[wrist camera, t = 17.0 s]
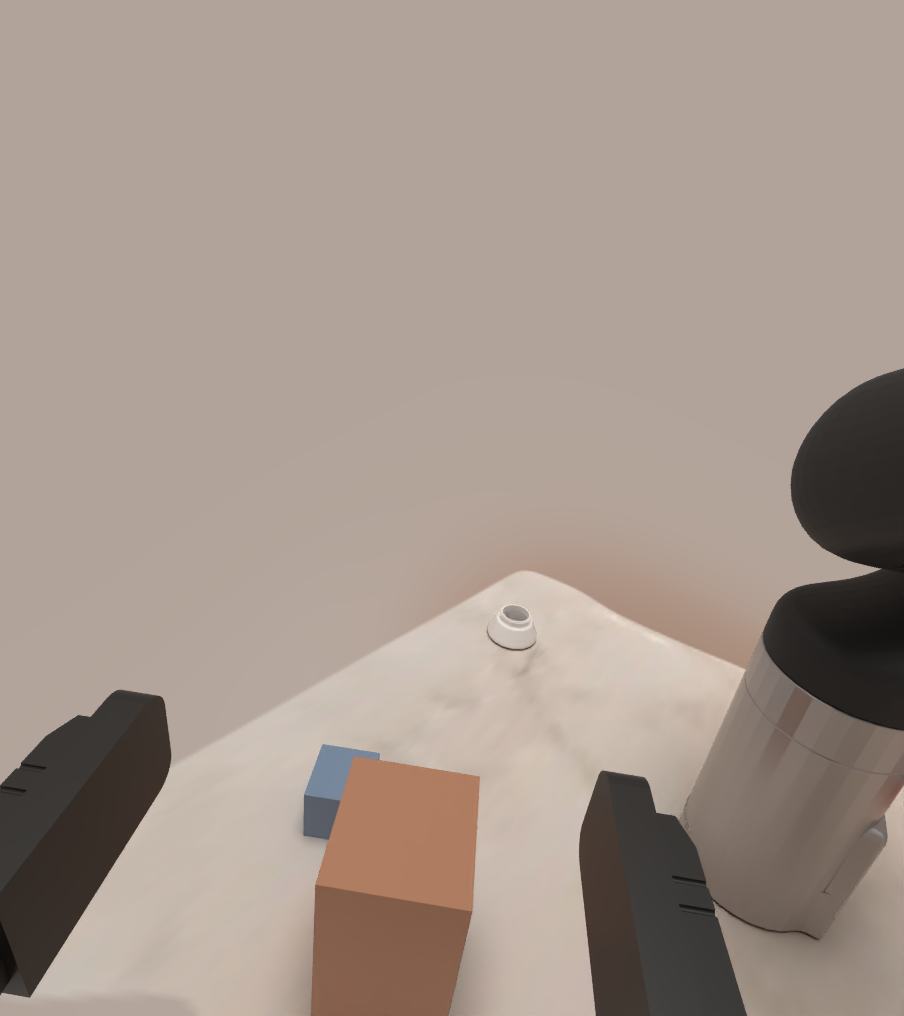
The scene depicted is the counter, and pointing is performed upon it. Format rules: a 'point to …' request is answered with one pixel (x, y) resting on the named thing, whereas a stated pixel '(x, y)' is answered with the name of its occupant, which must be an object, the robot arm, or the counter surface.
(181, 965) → the counter surface
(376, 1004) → the brown rectangular block
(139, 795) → the robot arm
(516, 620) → the lidless jar
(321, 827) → the blue rectangular block
